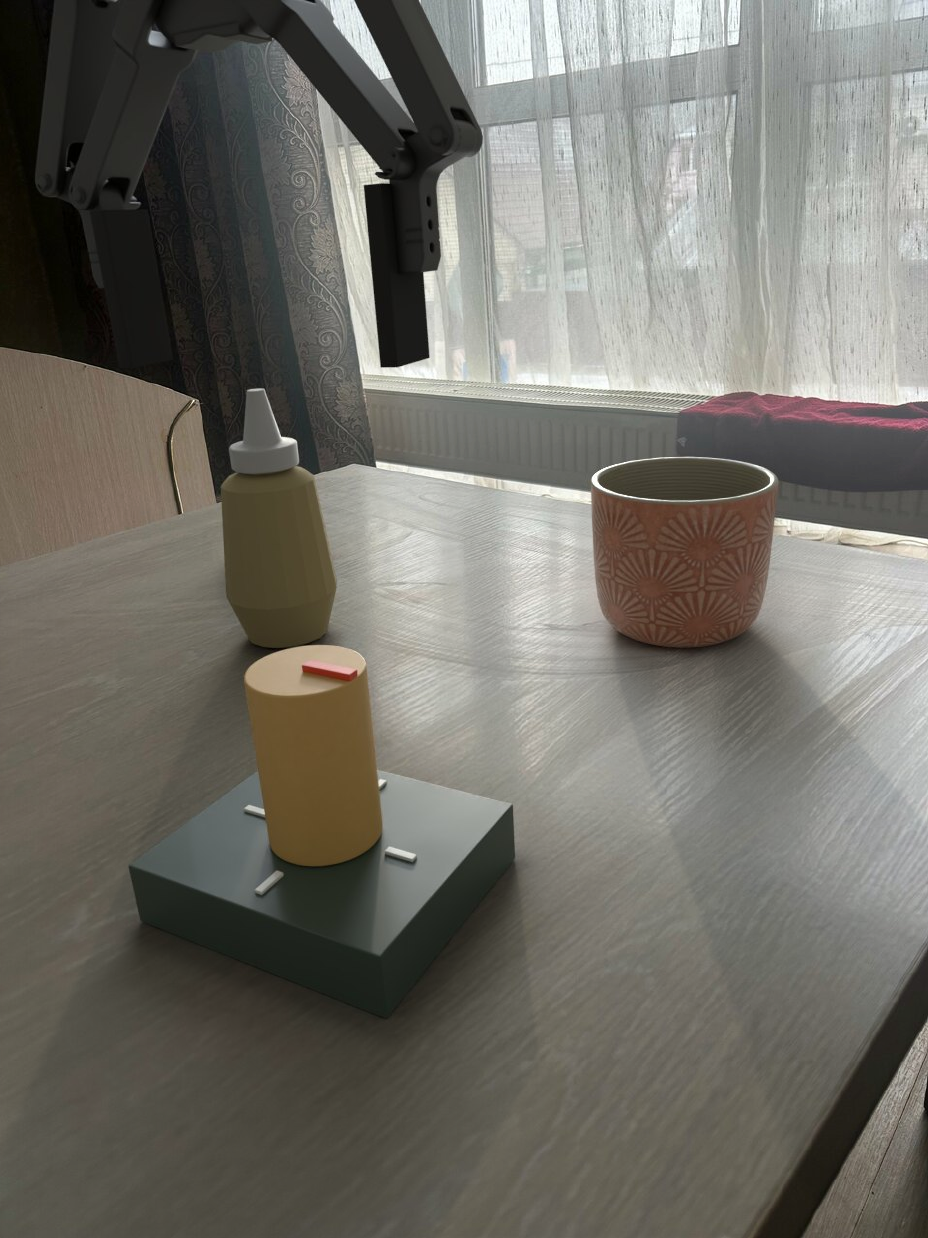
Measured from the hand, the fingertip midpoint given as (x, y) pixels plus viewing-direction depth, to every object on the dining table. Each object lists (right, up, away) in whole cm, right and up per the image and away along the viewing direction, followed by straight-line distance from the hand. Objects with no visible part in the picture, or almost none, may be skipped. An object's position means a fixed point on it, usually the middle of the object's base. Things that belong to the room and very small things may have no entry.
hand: (267, 364), depth 41 cm
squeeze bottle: (-5, -12, +31) cm, 33 cm away
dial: (+2, -20, +1) cm, 21 cm away
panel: (+2, -23, +2) cm, 23 cm away
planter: (+24, -12, +28) cm, 39 cm away
